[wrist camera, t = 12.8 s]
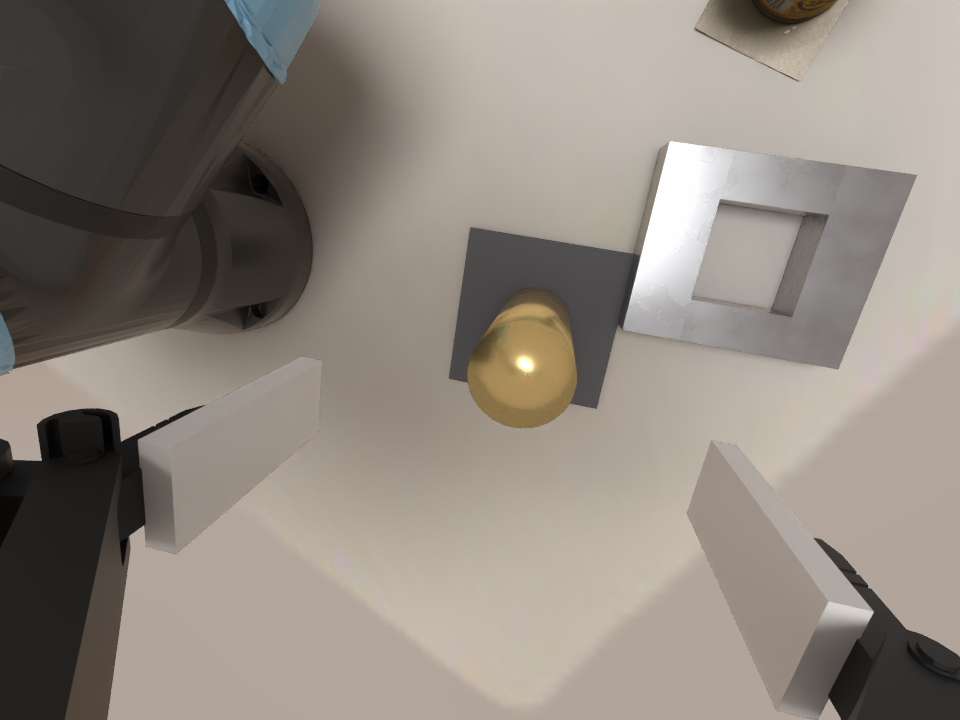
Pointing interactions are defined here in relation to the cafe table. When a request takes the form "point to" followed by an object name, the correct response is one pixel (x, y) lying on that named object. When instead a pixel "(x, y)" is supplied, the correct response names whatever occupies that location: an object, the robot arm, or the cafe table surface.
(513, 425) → the gold rounded cylinder
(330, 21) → the cafe table surface
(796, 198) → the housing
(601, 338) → the mat
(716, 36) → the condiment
